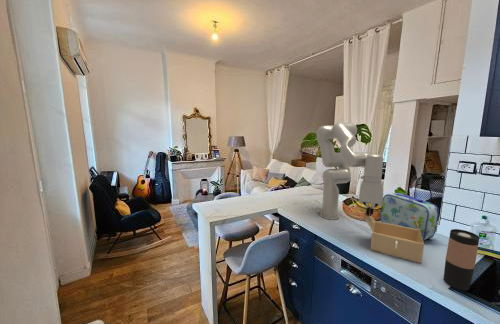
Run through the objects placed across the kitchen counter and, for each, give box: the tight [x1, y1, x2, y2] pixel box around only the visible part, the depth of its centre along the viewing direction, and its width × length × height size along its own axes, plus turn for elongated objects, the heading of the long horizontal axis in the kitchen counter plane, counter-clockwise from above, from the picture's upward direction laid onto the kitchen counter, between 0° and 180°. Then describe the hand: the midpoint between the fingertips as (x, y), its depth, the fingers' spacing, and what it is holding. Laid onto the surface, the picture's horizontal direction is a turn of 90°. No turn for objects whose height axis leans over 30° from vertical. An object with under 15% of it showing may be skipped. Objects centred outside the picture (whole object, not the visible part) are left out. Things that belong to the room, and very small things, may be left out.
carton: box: [369, 220, 425, 264], centre depth 102 cm, size 19×18×9 cm
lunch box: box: [379, 192, 440, 241], centre depth 119 cm, size 26×11×21 cm, turn 21°
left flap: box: [363, 208, 376, 232], centre depth 108 cm, size 7×13×1 cm
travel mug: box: [443, 228, 480, 291], centre depth 79 cm, size 8×8×20 cm
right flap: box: [414, 215, 424, 243], centre depth 98 cm, size 7×13×1 cm
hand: (369, 215), depth 107 cm, fingers closed
